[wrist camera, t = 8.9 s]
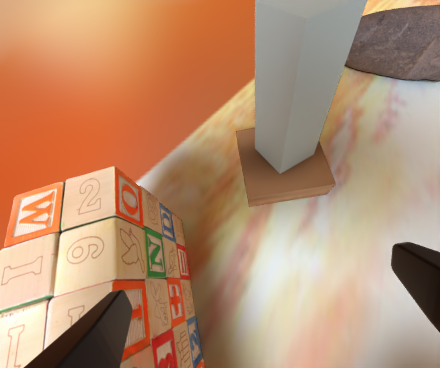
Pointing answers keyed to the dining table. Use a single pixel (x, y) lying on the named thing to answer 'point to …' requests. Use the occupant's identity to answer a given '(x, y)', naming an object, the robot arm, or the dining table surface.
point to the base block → (286, 181)
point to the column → (298, 72)
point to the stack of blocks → (96, 270)
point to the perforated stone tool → (399, 43)
